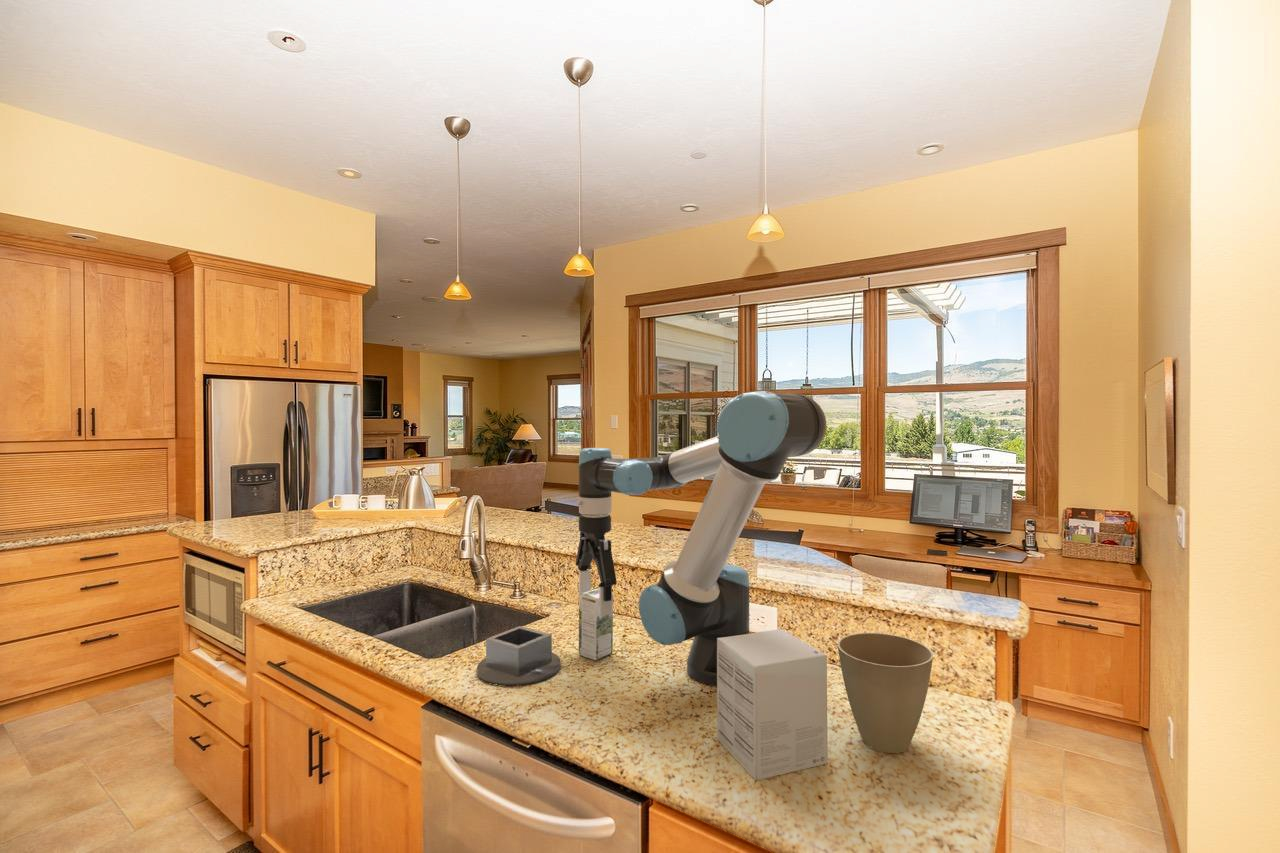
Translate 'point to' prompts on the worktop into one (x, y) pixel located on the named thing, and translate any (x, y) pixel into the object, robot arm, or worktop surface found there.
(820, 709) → the supplement box
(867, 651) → the plant pot
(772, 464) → the robot arm
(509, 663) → the duct collar
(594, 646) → the syrup box
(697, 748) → the worktop surface
